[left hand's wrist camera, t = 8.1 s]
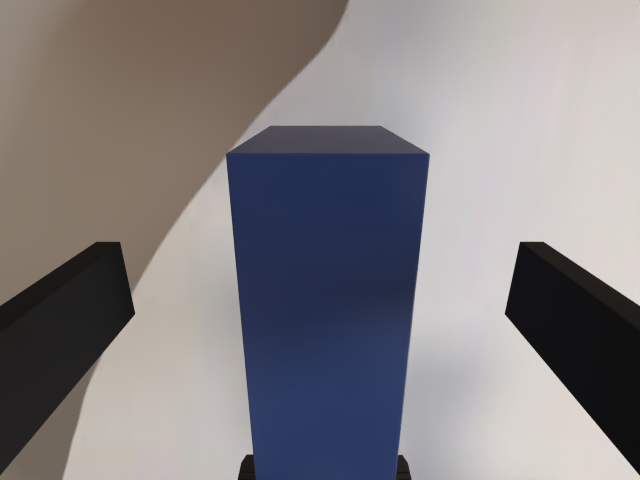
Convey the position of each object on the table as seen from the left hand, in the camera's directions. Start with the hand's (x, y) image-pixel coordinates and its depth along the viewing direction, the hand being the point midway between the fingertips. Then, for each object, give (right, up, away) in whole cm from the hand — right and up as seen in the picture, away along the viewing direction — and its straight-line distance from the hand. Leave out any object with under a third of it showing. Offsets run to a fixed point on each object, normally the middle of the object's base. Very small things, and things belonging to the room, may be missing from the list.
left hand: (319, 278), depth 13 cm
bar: (0, -4, +10) cm, 11 cm away
